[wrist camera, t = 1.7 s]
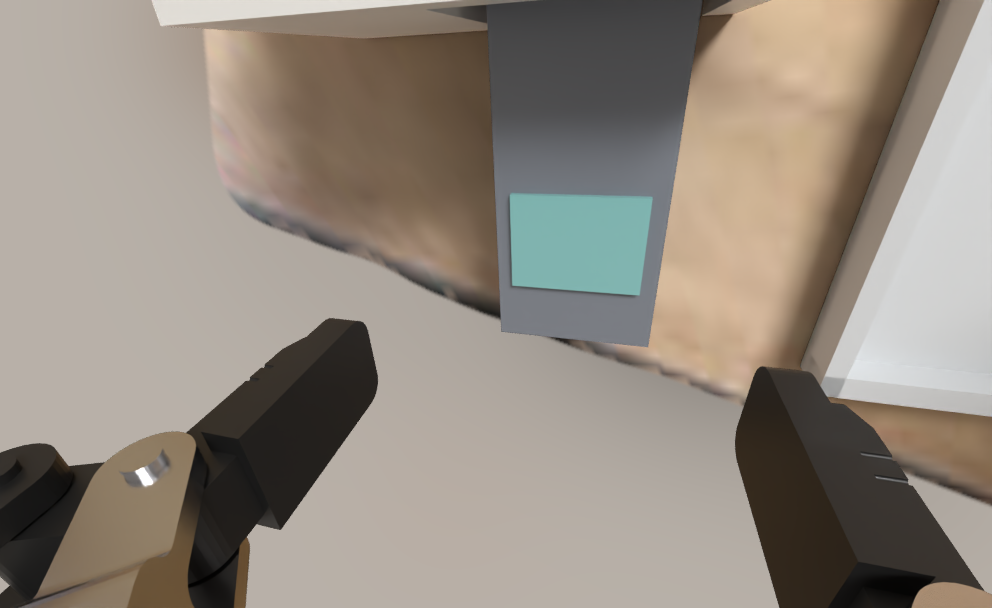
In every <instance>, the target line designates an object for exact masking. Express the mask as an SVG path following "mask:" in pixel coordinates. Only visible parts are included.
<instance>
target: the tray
mask: <svg viewBox="0 0 992 608" xmlns="http://www.w3.org/2000/svg"><path fill="white" fill-rule="evenodd" d="M800 367H801V369H802V370H803V371H808V372H810V373H812V374H813V375H814V377H815V378H816V380H817V381H818V383H819V385H820V386H821V388H822V389H823V391H824V393H825V394H826V396H827V397H834V398H842V399H850V400H858V401H867V402H875V403H883V404H891V405H899V406H908V407H916V408H924V409H932V410H941V411H949V412H957V413H965V414H973V415H982V416H990V417H992V0H940V1H939V4H938V6H937V9H936V12H935V14H934V17H933V19H932V22H931V25H930V27H929V30H928V32H927V35H926V38H925V40H924V43H923V46H922V48H921V51H920V53H919V56H918V59H917V61H916V64H915V66H914V69H913V72H912V74H911V77H910V80H909V82H908V85H907V87H906V90H905V93H904V95H903V98H902V100H901V103H900V106H899V108H898V111H897V113H896V116H895V119H894V121H893V124H892V127H891V129H890V132H889V134H888V137H887V140H886V142H885V145H884V147H883V150H882V153H881V155H880V158H879V161H878V163H877V166H876V168H875V171H874V174H873V176H872V179H871V181H870V184H869V187H868V189H867V192H866V194H865V197H864V200H863V202H862V205H861V208H860V210H859V213H858V215H857V218H856V221H855V223H854V226H853V228H852V231H851V234H850V236H849V239H848V241H847V244H846V247H845V249H844V252H843V255H842V257H841V260H840V262H839V265H838V268H837V270H836V273H835V275H834V278H833V281H832V283H831V286H830V289H829V291H828V294H827V296H826V299H825V302H824V304H823V307H822V309H821V312H820V315H819V317H818V320H817V322H816V325H815V328H814V330H813V333H812V336H811V338H810V341H809V343H808V346H807V349H806V351H805V354H804V356H803V359H802V362H801V364H800Z"/></svg>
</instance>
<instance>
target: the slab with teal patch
mask: <svg viewBox="0 0 992 608" xmlns="http://www.w3.org/2000/svg"><path fill="white" fill-rule="evenodd" d="M702 2H703V0H536V1H524V2H512V3H500V4H488V5H486V7H487V28H488V50H489V72H490V94H491V115H492V137H493V159H494V181H495V203H496V224H497V246H498V268H499V290H500V312H501V331H502V332H510V333H520V334H529V335H538V336H547V337H557V338H566V339H576V340H585V341H595V342H604V343H614V344H623V345H632V346H642V347H648V344H649V337H650V331H651V325H652V318H653V312H654V306H655V299H656V293H657V287H658V280H659V274H660V268H661V261H662V255H663V249H664V242H665V236H666V230H667V223H668V217H669V211H670V204H671V198H672V192H673V185H674V179H675V173H676V166H677V160H678V154H679V147H680V141H681V135H682V128H683V122H684V116H685V109H686V103H687V97H688V90H689V84H690V78H691V71H692V65H693V59H694V52H695V46H696V40H697V33H698V27H699V21H700V14H701V8H702Z"/></svg>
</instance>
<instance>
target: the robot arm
mask: <svg viewBox="0 0 992 608" xmlns="http://www.w3.org/2000/svg"><path fill="white" fill-rule="evenodd" d="M377 385H378V375H377V370H376V366H375V361H374V357H373V352H372V348H371V343H370V338H369V334H368V330H367V327H366V325H365V324H364V323H363V322H361V321H352V320H343V319H334V318H329V319H327V320H325V321H324V322H323V323H321V324H320V325H319V326H318V327H317V328H316V329H315V330H314V331H312V332H311V333H310V334H309V335H308V336H307V337H305V338H303V339H301V340H299V341H297V342H295V343H293V344H291V345H289V346H288V347H286V348H284V349H282V350H281V351H280V352H279V353H277V354H276V355H275V356H274V357H273V358H272V359H271V360H269V361H268V362H267V363H266V364H265V367H264V368H260V369H259V370H258V371H257V372H256V373H254V374H253V375H252V376H251V377H250V380H249V381H245V382H244V383H243V384H242V385H241V386H240V387H238V388H237V389H236V390H235V391H234V392H233V393H231V394H230V395H229V396H228V397H227V398H226V399H225V400H224V401H222V402H221V403H220V404H219V405H218V406H217V407H215V408H214V409H213V410H212V411H211V412H210V413H209V414H207V415H206V416H205V417H204V418H203V419H202V420H200V421H199V422H198V423H197V424H196V425H195V426H194V427H192V428H191V429H190V430H189V431H188V432H187V433H184V432H164V433H159V434H155V435H152V436H149V437H146V438H144V439H141V440H139V441H137V442H135V443H133V444H131V445H129V446H127V447H125V448H124V449H122V450H120V451H119V452H118V453H116V454H115V455H113V456H112V457H111V458H110V459H108V460H107V461H106V462H104V463H94V464H85V465H75V466H68V465H67V464H66V462H65V461H64V460H63V458H62V457H61V456H60V455H59V453H58V452H57V451H56V449H55V448H54V447H53V446H51V445H48V444H40V443H39V444H29V445H24V446H20V447H16V448H12V449H10V450H7V451H4V452H1V453H0V577H1V578H2V579H3V580H4V581H6V582H7V583H8V584H9V585H10V586H9V587H8V588H7V589H5V590H4V591H3V592H2V593H1V594H0V608H245V606H246V594H247V580H248V567H249V554H250V544H249V541H248V538H247V536H248V534H249V533H250V532H251V531H252V529H253V528H254V527H255V525H256V524H258V525H262V526H266V527H270V528H274V529H279V530H281V529H282V527H283V526H284V525H285V523H286V522H287V520H288V519H289V518H290V516H291V515H292V513H293V512H294V511H295V509H296V508H297V506H298V505H299V504H300V502H301V501H302V499H303V498H304V497H305V495H306V494H307V492H308V491H309V490H310V488H311V487H312V485H313V484H314V483H315V481H316V480H317V478H318V477H319V475H320V474H321V473H322V471H323V470H324V469H325V467H326V466H327V464H328V463H329V462H330V460H331V459H332V457H333V456H334V455H335V453H336V452H337V450H338V449H339V448H340V446H341V445H342V443H343V442H344V441H345V439H346V438H347V436H348V435H349V434H350V432H351V431H352V429H353V428H354V427H355V425H356V424H357V422H358V421H359V420H360V418H361V417H362V415H363V414H364V413H365V411H366V410H367V408H368V407H369V405H370V404H371V403H372V401H373V399H374V397H375V394H376V391H377ZM735 450H736V458H737V463H738V466H739V470H740V473H741V476H742V480H743V483H744V487H745V490H746V493H747V497H748V501H749V504H750V507H751V511H752V515H753V518H754V521H755V525H756V528H757V532H758V535H759V538H760V542H761V546H762V549H763V553H764V556H765V559H766V563H767V566H768V570H769V573H770V576H771V580H772V584H773V587H774V591H775V594H776V598H777V601H778V604H779V608H992V594H989V593H987V592H985V591H984V589H983V588H982V587H981V586H980V584H979V583H978V581H977V580H976V578H975V577H974V575H973V574H972V572H971V571H970V569H969V568H968V566H967V565H966V564H965V562H964V560H963V559H962V558H961V556H960V555H959V553H958V552H957V550H956V549H955V547H954V546H953V544H952V543H951V542H950V540H949V538H948V537H947V536H946V534H945V533H944V531H943V530H942V528H941V527H940V525H939V524H938V522H937V521H936V519H935V518H934V517H933V515H932V514H931V512H930V511H929V509H928V508H927V506H926V505H925V503H924V502H923V500H922V499H921V497H920V496H919V494H918V493H917V491H916V490H915V489H914V487H913V486H910V485H908V478H907V477H906V475H905V474H904V472H903V471H902V469H901V468H900V466H899V465H898V464H897V462H896V461H892V455H891V453H890V452H889V450H888V449H887V447H886V446H885V444H884V443H883V442H882V440H881V439H880V437H879V436H878V434H877V433H876V431H875V430H874V428H872V427H871V426H870V425H869V424H867V423H866V422H865V421H864V420H863V419H861V418H860V417H859V416H858V415H856V414H855V413H854V412H853V411H852V410H850V409H849V408H848V407H847V406H845V405H844V404H836V403H830V401H829V399H828V398H827V396H826V394H825V393H824V391H823V389H822V388H821V386H820V385H819V383H818V381H817V380H816V378H815V377H814V375H813V374H812V373H810V372H808V371H799V370H790V369H781V368H772V367H763V366H762V367H759V368H758V369H757V371H756V373H755V375H754V377H753V380H752V383H751V387H750V390H749V393H748V396H747V399H746V402H745V405H744V408H743V411H742V414H741V417H740V420H739V423H738V426H737V430H736V438H735Z"/></svg>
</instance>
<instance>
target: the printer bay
mask: <svg viewBox="0 0 992 608" xmlns="http://www.w3.org/2000/svg"><path fill="white" fill-rule="evenodd" d="M524 1H536V0H152V3H153V6H154V9H155V11H156V14H157V17H158V20H159V22H160V25H161V26H169V27H185V28H201V29H217V30H233V31H249V32H266V33H282V34H298V35H314V36H330V37H346V38H362V39H366V38H381V37H396V36H410V35H425V34H440V33H455V32H470V31H485V30H488V28H487V7H486V5H488V4H500V3H512V2H524ZM767 1H770V0H704V3H703V9H702V15H701V16H708V15H723V14H735V13H738V12H741V11H743V10H746V9H749V8H751V7H754V6H757V5H759V4H762V3H765V2H767Z"/></svg>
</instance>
